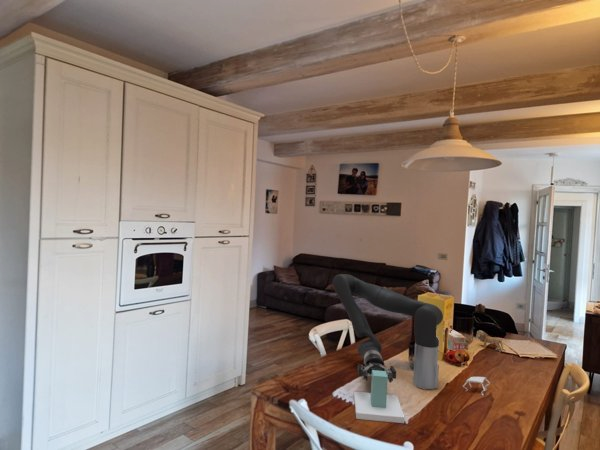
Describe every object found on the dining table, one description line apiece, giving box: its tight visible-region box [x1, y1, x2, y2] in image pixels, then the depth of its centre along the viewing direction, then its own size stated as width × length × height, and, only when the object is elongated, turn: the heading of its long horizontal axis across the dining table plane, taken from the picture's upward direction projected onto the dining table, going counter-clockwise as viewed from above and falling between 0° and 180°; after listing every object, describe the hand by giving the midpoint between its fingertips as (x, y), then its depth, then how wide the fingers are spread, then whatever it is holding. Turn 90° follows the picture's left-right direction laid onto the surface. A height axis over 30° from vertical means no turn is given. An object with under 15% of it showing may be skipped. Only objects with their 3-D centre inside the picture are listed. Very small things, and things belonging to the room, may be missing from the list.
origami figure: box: [462, 376, 491, 396], centre depth 156 cm, size 12×8×5 cm
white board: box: [353, 391, 406, 424], centre depth 137 cm, size 16×16×2 cm
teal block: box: [370, 370, 389, 408], centre depth 137 cm, size 5×5×11 cm
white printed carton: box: [448, 329, 466, 351], centre depth 199 cm, size 21×6×12 cm, turn 6°
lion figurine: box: [476, 329, 506, 353], centre depth 210 cm, size 15×5×9 cm, turn 56°
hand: (378, 379), depth 139 cm, fingers open, 8 cm apart
